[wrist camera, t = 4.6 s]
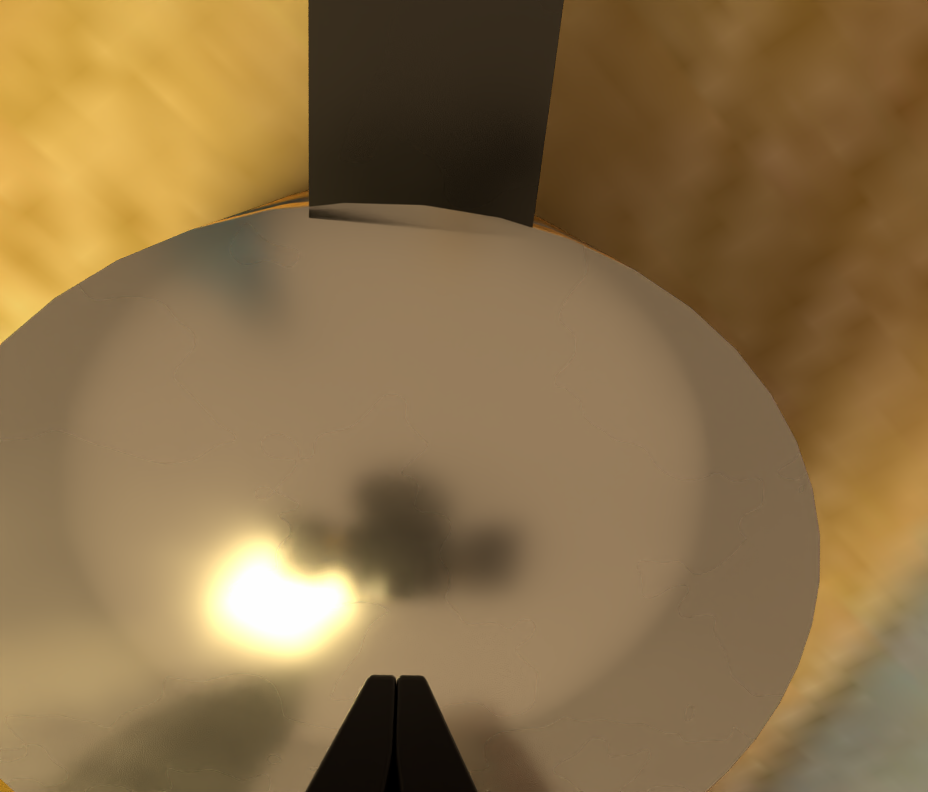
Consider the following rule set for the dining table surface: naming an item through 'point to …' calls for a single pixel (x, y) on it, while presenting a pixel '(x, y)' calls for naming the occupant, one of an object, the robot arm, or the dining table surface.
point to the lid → (394, 467)
